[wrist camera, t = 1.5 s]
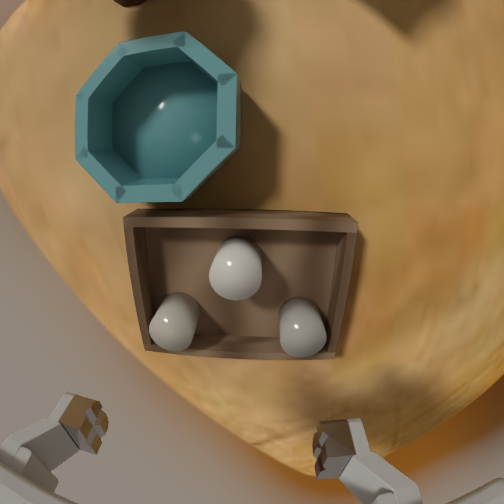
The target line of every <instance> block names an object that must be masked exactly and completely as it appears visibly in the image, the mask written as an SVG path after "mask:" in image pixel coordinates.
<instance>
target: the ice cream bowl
mask: <svg viewBox="0 0 504 504" xmlns="http://www.w3.org/2000/svg"><path fill="white" fill-rule="evenodd" d="M114 1H115V2H117V3H118V4H120V5H122V6H124V7H125V6H131V5H138V4H141V3H143V2H145V1H146V0H114Z"/></svg>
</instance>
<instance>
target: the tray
mask: <svg viewBox="0 0 504 504" xmlns="http://www.w3.org/2000/svg"><path fill="white" fill-rule="evenodd" d="M123 223H124V232H125V241H126V249H127V257H128V264H129V271H130V277H131V283H132V289H133V295H134V301H135V306H136V311H137V316H138V321H139V326H140V331H141V335H142V339H143V344H144V348H145V350H147V351H154V352H163V353H172V354H181V355H192V356H204V357H217V358H235V359H261V360H317V359H334V357H335V353H336V349H337V344H338V340H339V335H340V331H341V326H342V321H343V316H344V311H345V306H346V301H347V295H348V290H349V284H350V278H351V272H352V266H353V259H354V252H355V245H356V238H357V230H358V222H357V221H356V220H355V219H353V218H352V217H351V216H350V215H349V214H347V213H329V212H309V211H286V210H254V209H137V210H135V211H133V212H131V213H130V214H128V215H126V216H125V217H123ZM232 236H245V237H248V238H250V239H252V240H253V241H255V242H256V243H257V245H258V246H259V248H260V250H261V254H262V282H261V285H260V287H259V289H258V291H257V292H256V293H255V294H254V295H252V296H251V297H249V298H247V299H244V300H238V301H235V300H229V299H226V298H224V297H222V296H220V295H219V294H218V293H216V291H215V290H214V289H213V288H212V286H211V283H210V280H209V271H210V268H211V265H212V263H213V260H214V258H215V255H216V253H217V251H218V248H219V246H220V245H221V243H222V242H223V241H224V240H226V239H227V238H229V237H232ZM173 292H183V293H186V294H189V295H190V296H192V297H193V298H194V299H195V300H196V301H197V302H198V304H199V306H200V309H201V315H200V318H199V321H198V324H197V327H196V330H195V333H194V336H193V339H192V342H191V344H190V346H189V347H188V348H186V349H185V350H182V351H169V350H166V349H163V348H162V347H160V346H159V345H157V344H156V343H155V342H154V341H153V339H152V338H151V336H150V333H149V325H150V323H151V321H152V319H153V317H154V316H155V314H156V312H157V310H158V309H159V307H160V305H161V304H162V302H163V300H164V299H165V297H166V296H167V295H169V294H170V293H173ZM298 296H303V297H307V298H310V299H312V300H313V301H314V302H315V303H316V304H317V306H318V309H319V312H320V315H321V318H322V322H323V325H324V328H325V331H326V336H327V338H326V343H325V345H324V346H323V348H322V349H321V350H320V351H319V352H317V353H316V354H314V355H311V356H308V357H294V356H291V355H289V354H287V353H286V352H285V351H284V350H283V349H282V347H281V343H280V331H279V318H278V313H279V309H280V307H281V306H282V304H283V303H284V302H285V301H287V300H288V299H290V298H293V297H298Z"/></svg>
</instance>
